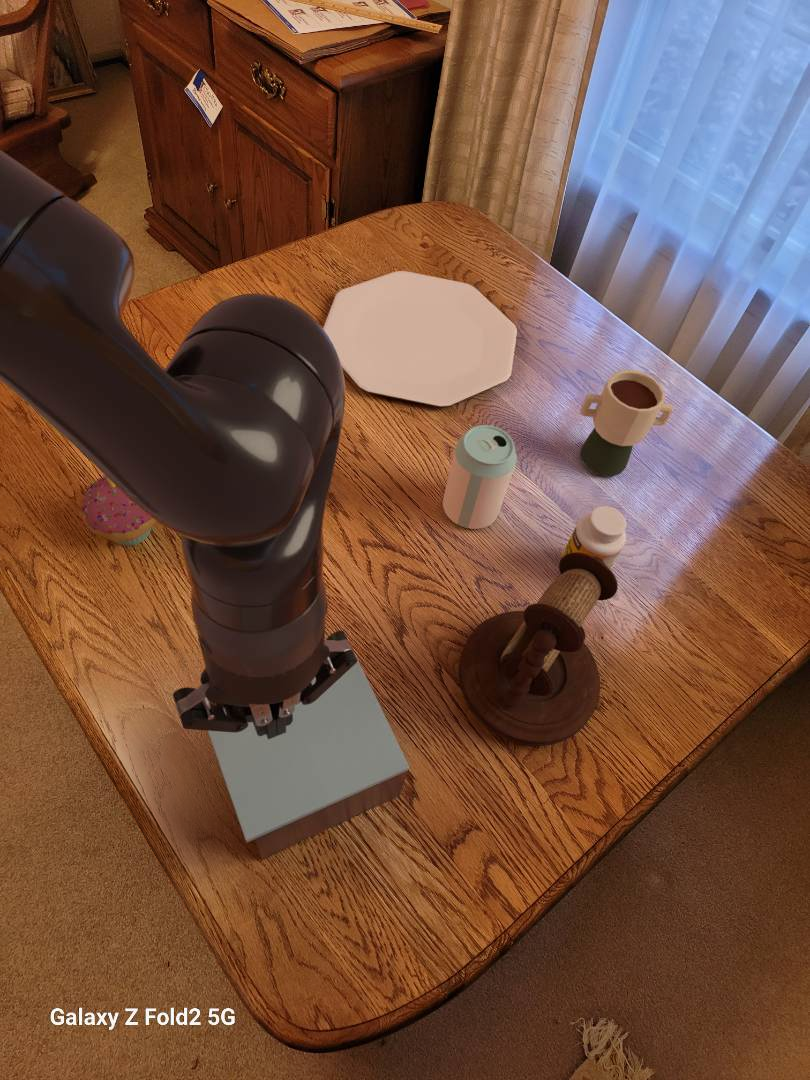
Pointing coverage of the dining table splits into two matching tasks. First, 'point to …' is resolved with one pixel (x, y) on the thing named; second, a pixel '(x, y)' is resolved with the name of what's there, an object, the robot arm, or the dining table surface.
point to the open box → (329, 816)
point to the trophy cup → (621, 420)
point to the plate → (421, 338)
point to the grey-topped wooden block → (309, 757)
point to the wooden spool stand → (539, 659)
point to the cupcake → (114, 514)
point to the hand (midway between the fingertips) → (272, 725)
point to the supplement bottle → (599, 535)
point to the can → (479, 476)
